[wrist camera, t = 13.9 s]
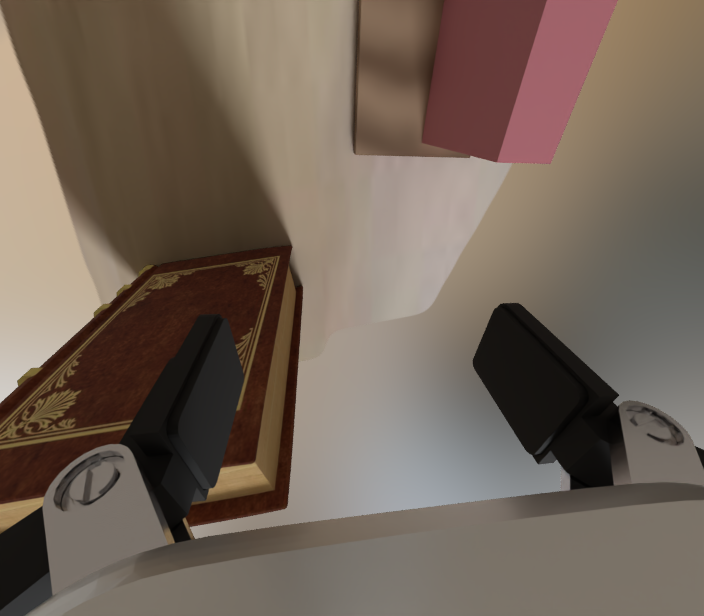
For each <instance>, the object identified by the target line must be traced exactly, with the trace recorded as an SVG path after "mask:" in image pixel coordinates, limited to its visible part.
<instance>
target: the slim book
mask: <svg viewBox="0 0 704 616" xmlns="http://www.w3.org/2000/svg"><path fill="white" fill-rule="evenodd" d="M617 1H618V0H444V5H443V11H442V18H441V24H440V30H439V37H438V43H437V49H436V55H435V62H434V68H433V74H432V81H431V87H430V93H429V100H428V106H427V112H426V119H425V125H424V131H423V137H422V143H424V144H428V145H431V146H435V147H439V148H443V149H447V150H451V151H455V152H459V153H462V154H466V155H470V156H474V157H478V158H482V159H486V160H490V161H493V162H500V163H540V164H550V163H551V161H552V159H553V157H554V154H555V152H556V149H557V147H558V144H559V142H560V140H561V137H562V135H563V132H564V130H565V127H566V125H567V123H568V120H569V118H570V115H571V112H572V110H573V108H574V105H575V103H576V100H577V98H578V96H579V93H580V91H581V89H582V86H583V84H584V81H585V79H586V76H587V74H588V72H589V69H590V67H591V64H592V62H593V59H594V57H595V55H596V52H597V50H598V47H599V45H600V42H601V40H602V38H603V35H604V33H605V30H606V28H607V25H608V23H609V20H610V18H611V16H612V13H613V11H614V8H615V6H616V3H617Z"/></svg>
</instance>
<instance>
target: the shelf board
mask: <svg viewBox="0 0 704 616" xmlns="http://www.w3.org/2000/svg"><path fill="white" fill-rule="evenodd" d="M443 5H444V0H359V10H358V40H357V70H356V99H355V129H354V154H355V155H383V156H420V157H456V158H470V155H466V154H462V153H459V152H455V151H451V150H447V149H443V148H439V147H435V146H431V145H428V144H424V143H422V137H423V131H424V125H425V119H426V112H427V106H428V100H429V93H430V87H431V81H432V74H433V68H434V62H435V55H436V49H437V43H438V37H439V30H440V24H441V18H442V11H443Z"/></svg>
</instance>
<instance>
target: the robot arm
mask: <svg viewBox="0 0 704 616" xmlns="http://www.w3.org/2000/svg"><path fill="white" fill-rule="evenodd" d="M473 367H474V369H475V371H476V372H477V374H478V375H479V377H480V378H481V380H482V382H483V383H484V385H485V386H486V388H487V390H488V391H489V393H490V394H491V396H492V398H493V399H494V401H495V402H496V404H497V406H498V407H499V409H500V410H501V412H502V414H503V415H504V417H505V418H506V420H507V421H508V423H509V425H510V426H511V428H512V429H513V431H514V433H515V434H516V436H517V437H518V439H519V441H520V442H521V444H522V445H523V447H524V448H525V450H526V451H527V452H528V453H529V454H532V455H533V457H534V459H535V460H536V462H537V463H538V464H546V463H554V462H555V461H556V460H558V462H559V463H560V465H561V491H559V492H551V493H542V494H534V495H525V496H517V497H508V498H500V499H491V500H484V501H475V502H466V503H458V504H451V505H442V506H435V507H426V508H418V509H410V510H401V511H393V512H386V513H377V514H370V515H362V516H354V517H346V518H338V519H330V520H323V521H315V522H307V523H299V524H291V525H283V526H276V527H269V528H263V529H256V530H250V531H242V532H235V533H229V534H222V535H215V536H208V537H203V538H198V539H195V538H194V536H193V534H192V532H191V529H190V527H189V525H188V523H187V521H186V518H185V517H186V516H187V515H188V513H189V510H190V507H191V504H192V502H198V501H206V499H207V496H208V492H209V489H210V488H214V487H215V486H216V483H217V481H218V477H219V473H220V469H221V466H222V462H223V458H224V455H225V451H226V447H227V443H228V440H229V436H230V432H231V428H232V425H233V421H234V417H235V413H236V410H237V406H238V402H239V398H240V395H241V391H242V387H243V383H244V373H243V369H242V366H241V363H240V359H239V356H238V352H237V349H236V346H235V342H234V339H233V335H232V332H231V329H230V325H229V322H228V319H227V318H222V316H221V315H220V314H202V315H199V316H198V318H197V320H196V321H195V323H194V325H193V326H192V328H191V330H190V332H189V333H188V335H187V337H186V338H185V340H184V342H183V344H182V345H181V347H180V349H179V351H178V352H177V354H176V356H175V357H173V358H171V359H170V360H169V361H168V362H167V364H166V366H165V367H164V369H163V371H162V372H161V374H160V376H159V377H158V379H157V381H156V382H155V384H154V386H153V387H152V389H151V391H150V392H149V394H148V396H147V397H146V399H145V401H144V402H143V404H142V406H141V407H140V409H139V411H138V412H137V414H136V416H135V417H134V419H133V421H132V422H131V424H130V426H129V427H128V429H127V431H126V432H125V434H124V436H123V438H122V439H121V441H120V443H119V444H109V445H105V446H101V447H97V448H95V449H93V450H91V451H89V452H87V453H85V454H83V455H82V456H80V457H79V458H77V459H76V460H74V461H73V462H71V463H70V464H69V465H68V466H67V467H66V468H65V469H64V470H62V471H61V472H60V473H59V474H58V476H57V477H56V478H55V479H54V481H53V482H52V483H51V484H50V486H49V488H48V490H47V492H46V494H45V496H44V501H43V506H41V507H40V508H38V509H37V510H35V511H34V512H32V513H31V514H29V515H28V516H26V517H25V518H23V519H22V520H20V521H19V522H17V523H16V524H14V525H13V526H11V527H10V528H8V529H7V530H5V531H4V532H2V533H1V534H0V616H704V450H703V449H700V448H698V447H696V446H694V443H693V441H692V439H691V437H690V435H689V434H688V432H687V431H686V430H685V429H684V428H683V427H682V426H681V425H680V424H679V423H678V422H677V421H676V420H674V419H673V418H672V417H671V416H669V415H667V414H666V413H664V412H662V411H660V410H659V409H657V408H655V407H653V406H650V405H648V404H645V403H641V402H638V401H630V400H629V401H624V402H622V403H621V404H620V405H619V406H618V407H617V406H616V405H615V404H614V403H613V401H614V400H615V399H616V398H617V397H618V396H619V394H618V393H617V392H615V391H614V390H613V389H612V388H611V387H610V386H609V385H608V384H607V383H605V382H604V381H603V380H602V379H601V378H600V377H599V376H598V375H597V374H596V373H595V372H594V371H593V370H591V369H590V368H589V367H588V366H587V365H586V364H585V363H584V362H583V361H582V360H581V359H580V358H578V357H577V356H576V355H575V354H574V353H573V352H572V351H571V350H570V349H569V348H568V347H566V346H565V345H564V344H563V343H562V342H561V341H560V340H559V339H558V338H557V337H556V336H554V335H553V334H552V333H551V332H550V331H549V330H548V329H547V328H546V327H545V326H544V325H543V324H541V323H540V322H539V321H538V320H537V319H536V318H535V317H534V316H533V315H532V314H530V313H529V312H528V311H527V310H526V309H525V308H524V307H523V306H522V305H520V304H519V303H503V304H500V305H499V306H498V307H497V308H495V309H494V311H493V313H492V315H491V318H490V320H489V323H488V325H487V328H486V330H485V332H484V334H483V337H482V339H481V342H480V344H479V346H478V349H477V351H476V354H475V356H474V358H473Z"/></svg>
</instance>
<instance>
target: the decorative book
mask: <svg viewBox="0 0 704 616" xmlns="http://www.w3.org/2000/svg"><path fill="white" fill-rule="evenodd" d="M291 251H292V246H281V247H271V248H263V249H256V250H249V251H243V252H236V253H230V254H223V255H217V256H210V257H204V258H197V259H191V260H184V261H177V262H171V263H164V264H162V265H160V266H159V267H158V266H155V265H147V266H146V267H144V268H143V269H142V270H141V271H140V272H139V276H138V278H137V279H136V280H135V281H133V282H132V283H131V284H130V285H124V286H123V287H122V288H121V289H120V290H119V291H118V292H117V297H116V298H115V299H114V300H113V301H112V302H110V303H109V304H103V305H102V306H101V307H99V308H98V309H97V310H96V311H95V312H94V318H93V319H92V320H91V321H90V322H89V323H88V324H87V325H85V326H84V327H83V328H82V329H81V330H80V331H79V332H78V333H77V334H76V335H74V336H73V337H72V338H71V339H70V340H69V341H68V342H67V343H66V344H65V345H63V347H61V348H60V349H59V350H58V351H57V352H56V353H55V354H54V355H52V356H51V357H50V358H49V359H48V360H47V361H46V362H45V363H44V364H43V365H42V366H41V367H39V368H31V369H30V370H29V371H28V372H27V373H25V374H24V375H23V376H22V377H21V378H20V379H19V380H18V381H17V382H18V386H19V387H17V388H16V389H15V390H14V391H13V392H12V393H11V394H10V395H9V396H8V397H7V398H5V399H4V400H3V401H2V402H1V403H0V534H1V533H2V532H4V531H5V530H7V529H8V528H10V527H11V526H13V525H14V524H16V523H17V522H19V521H20V520H22V519H23V518H25V517H26V516H28V515H29V514H31V513H32V512H34V511H35V510H37V509H38V508H40V507H41V506H43V501H44V496H45V494H46V492H47V490H48V488H49V486H50V484H51V483H52V482H53V481H54V479H55V478H56V477H57V476H58V474H59V473H60V472H61V471H62V470H64V469H65V468H66V467H67V466H68V465H69V464H70V463H71V462H73V461H74V460H76V459H77V458H79V457H80V456H82V455H83V454H85V453H87V452H89V451H91V450H93V449H95V448H97V447H101V446H105V445H109V444H119V443H120V441H121V439H122V438H123V436H124V434H125V432H126V431H127V429H128V427H129V426H130V424H131V422H132V421H133V419H134V417H135V416H136V414H137V412H138V411H139V409H140V407H141V406H142V404H143V402H144V401H145V399H146V397H147V396H148V394H149V392H150V391H151V389H152V387H153V386H154V384H155V382H156V381H157V379H158V377H159V376H160V374H161V372H162V371H163V369H164V367H165V366H166V364H167V362H168V361H169V360H170V359H171V358H173V357H175V356H176V354H177V352H178V351H179V349H180V347H181V345H182V344H183V342H184V340H185V338H186V337H187V335H188V333H189V332H190V330H191V328H192V326H193V325H194V323H195V321H196V320H197V318H198V316H199V315H202V314H220V315H221V316H222V318H227V319H228V322H229V325H230V329H231V332H232V335H233V339H234V342H235V346H236V349H237V352H238V356H239V359H240V363H241V366H242V369H243V373H244V383H243V387H242V391H241V395H240V398H239V402H238V406H237V410H236V413H235V417H234V421H233V425H232V428H231V432H230V436H229V440H228V443H227V447H226V451H225V455H224V458H223V462H222V466H221V469H220V473H219V477H218V481H217V483H216V486H215V487H214V488H210V489H209V492H208V496H207V499H206V501H198V502H192V504H191V507H190V510H189V513H188V515H187V516H186V517H185V518H186V521H187V523H188V525H189V527H192V526H198V525H204V524H209V523H215V522H221V521H226V520H232V519H237V518H242V517H248V516H253V515H258V514H263V513H267V512H273V511H278V510H282V509H285V508H287V504H288V494H289V482H290V472H291V459H292V446H293V431H294V418H295V403H296V388H297V373H298V359H299V345H300V330H301V315H302V300H303V286H300V287H296V288H295V286H294V282H293V279H292V275H291V272H290V268H289V260H290V255H291Z"/></svg>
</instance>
